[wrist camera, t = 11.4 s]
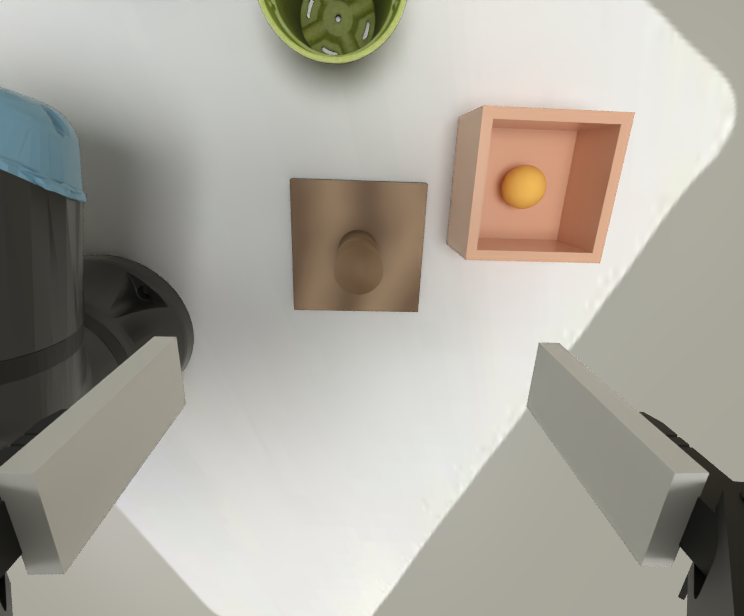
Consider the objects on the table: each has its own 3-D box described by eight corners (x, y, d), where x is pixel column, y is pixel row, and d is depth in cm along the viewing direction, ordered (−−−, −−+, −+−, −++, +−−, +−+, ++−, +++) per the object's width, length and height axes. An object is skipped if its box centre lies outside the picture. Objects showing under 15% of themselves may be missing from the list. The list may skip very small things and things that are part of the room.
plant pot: (377, 103, 34) (384, 83, 26) (267, 66, 33) (238, 33, 24) (412, -25, 31) (432, -93, 23) (293, -71, 30) (269, -161, 22)
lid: (295, 306, 39) (279, 344, 31) (291, 178, 35) (271, 182, 27) (416, 308, 40) (432, 347, 31) (425, 183, 36) (447, 188, 27)
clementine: (493, 206, 36) (507, 210, 33) (498, 164, 35) (514, 163, 31) (531, 207, 36) (550, 211, 33) (538, 165, 35) (558, 165, 32)
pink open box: (446, 243, 38) (465, 259, 31) (458, 117, 34) (483, 105, 28) (558, 246, 39) (600, 263, 32) (582, 122, 35) (634, 112, 28)
